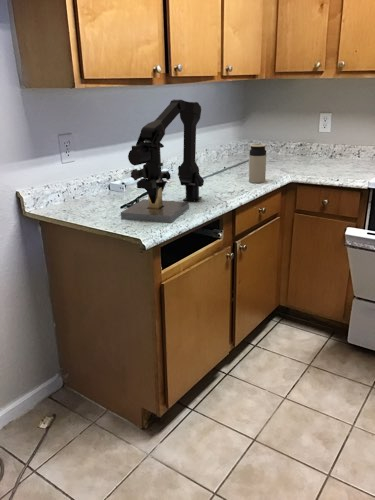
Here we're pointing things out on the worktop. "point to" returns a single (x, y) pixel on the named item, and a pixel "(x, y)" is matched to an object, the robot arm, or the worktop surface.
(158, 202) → the brass peg
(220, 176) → the worktop surface
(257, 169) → the travel mug
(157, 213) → the post plate
